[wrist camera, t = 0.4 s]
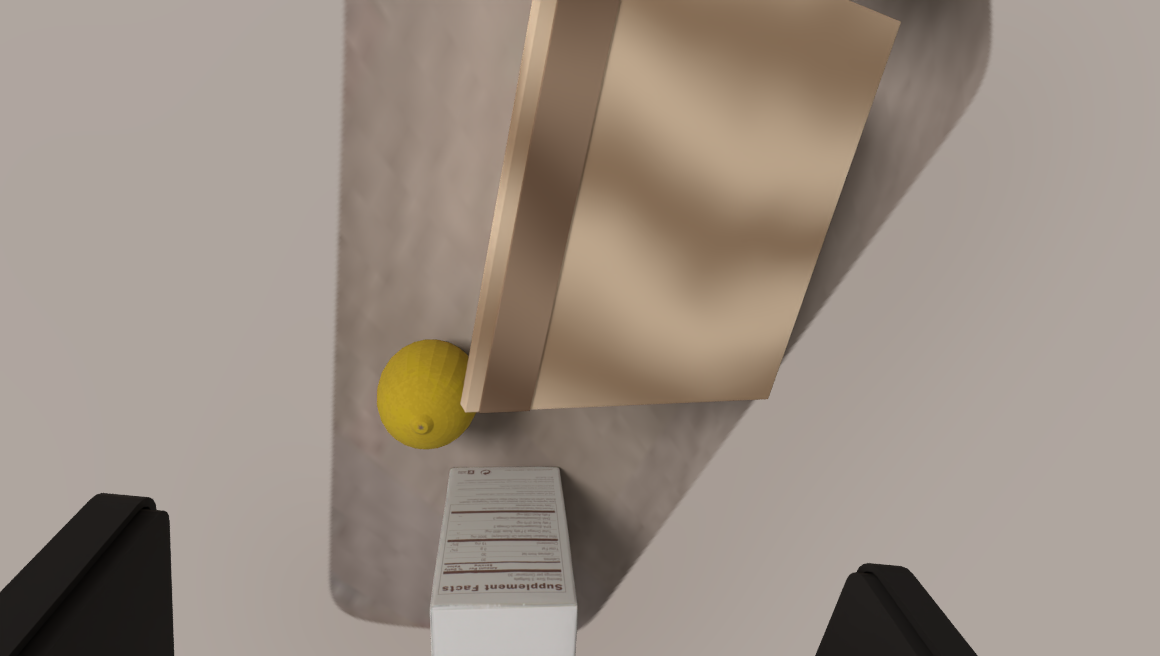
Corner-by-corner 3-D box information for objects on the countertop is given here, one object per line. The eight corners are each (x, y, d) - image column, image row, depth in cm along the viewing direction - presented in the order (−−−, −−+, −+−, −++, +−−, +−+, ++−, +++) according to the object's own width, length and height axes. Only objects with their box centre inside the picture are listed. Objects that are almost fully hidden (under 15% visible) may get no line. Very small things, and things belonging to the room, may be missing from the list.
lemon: (501, 357, 41) (499, 421, 33) (444, 419, 42) (430, 494, 34) (429, 301, 39) (410, 356, 31) (371, 367, 40) (340, 435, 33)
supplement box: (557, 553, 46) (572, 716, 35) (449, 555, 46) (428, 723, 34) (562, 463, 44) (582, 606, 32) (448, 463, 43) (425, 610, 31)
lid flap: (553, -115, 19) (563, -118, 18) (888, 21, 26) (903, 22, 26) (460, 404, 24) (466, 413, 24) (759, 392, 32) (769, 400, 31)
